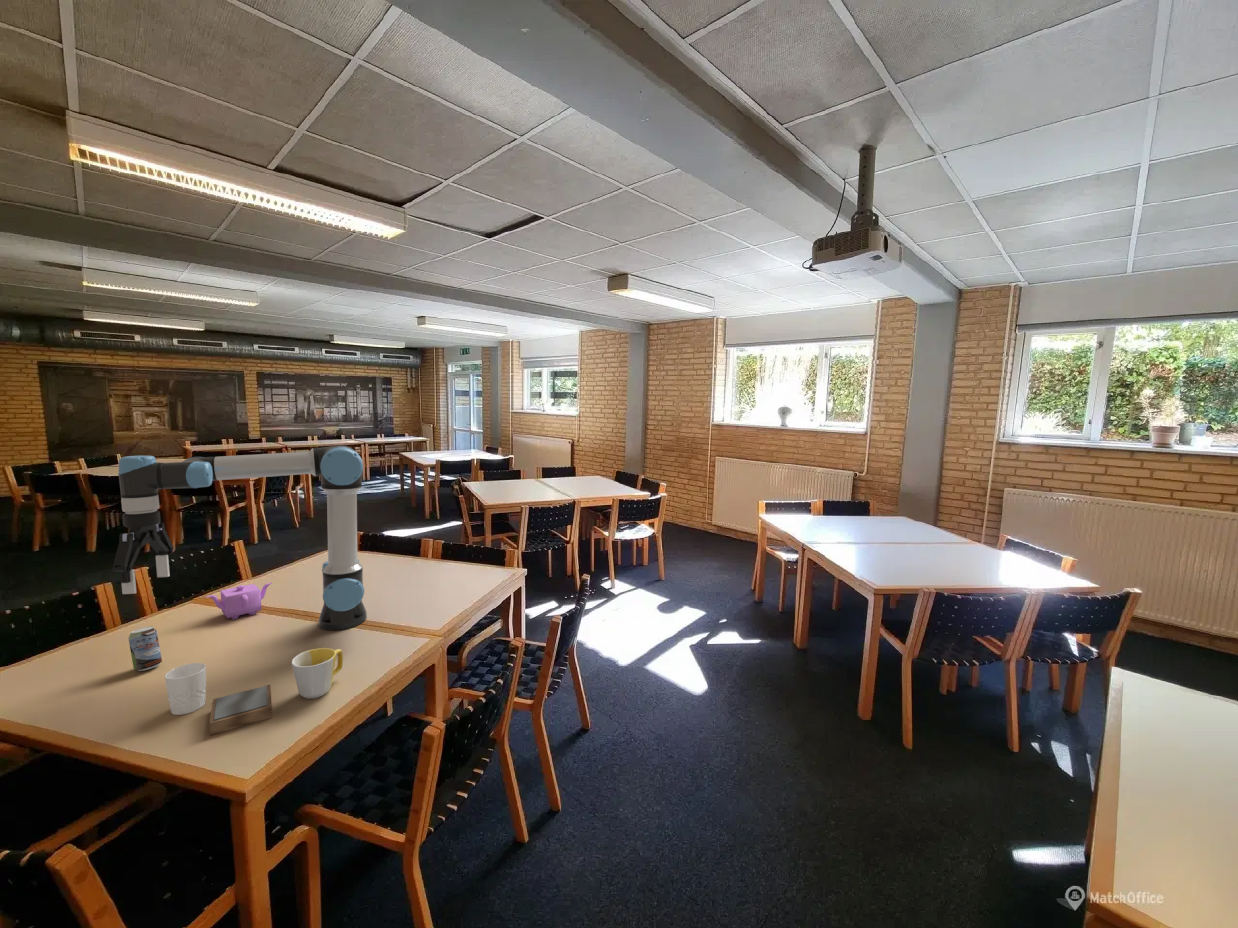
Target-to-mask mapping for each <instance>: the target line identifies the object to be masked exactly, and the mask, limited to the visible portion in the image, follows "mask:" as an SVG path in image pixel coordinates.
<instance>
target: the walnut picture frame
mask: <svg viewBox="0 0 1238 928" xmlns="http://www.w3.org/2000/svg"><path fill="white" fill-rule="evenodd" d="M210 709H211V711H210V716H209V718H210V719H209V732H210V733H209V734H210V736H213V735H217V734H220V733H223V732H228V731H231V730H234V729H238V728H241V727H244V726H245V727H246V726H248V725H251V724H255V723H258V722H262V721H265V720H269V719H272V718H273V703H272V687H271V684H267V685H266V684H265V685H263V686H259V687H255V688H254V687H253V688H250V689H247V690H243V691H239V692H236V693H230V694H228V695H224V696H220V697H216V698H213V699H212V703H211V708H210Z"/></svg>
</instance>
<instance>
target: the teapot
mask: <svg viewBox="0 0 1238 928" xmlns="http://www.w3.org/2000/svg"><path fill="white" fill-rule="evenodd" d="M272 584H273V582H268V583H266V584H264V585H263V586H262V588H261V589H260V588H259V586H257V585H256V584H254V583H252V584H247V585H243V584H241V585H236V586H235V587H231V588H227V589H222V590H220V591H219V592H220V593H219V594H220V600H219V598H218V596H216V595H215V594H212V595H211V594H210V595H205V597H206V598H210V599H212V600H213V602H214V604H215V606H216V608H218V609H220V610H221V613H222V614H223V615H224V616H225V617H226V618H227V619H230V618H231V620H233V621H234V620H237V619H239V617H240V616H241V615H245V614H248V616H255V615H257V613H256V612H258V611H263V609H262V600H263V599H264V598H265V595H266V592H267V589H268V587H269V586H271V585H272Z"/></svg>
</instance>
